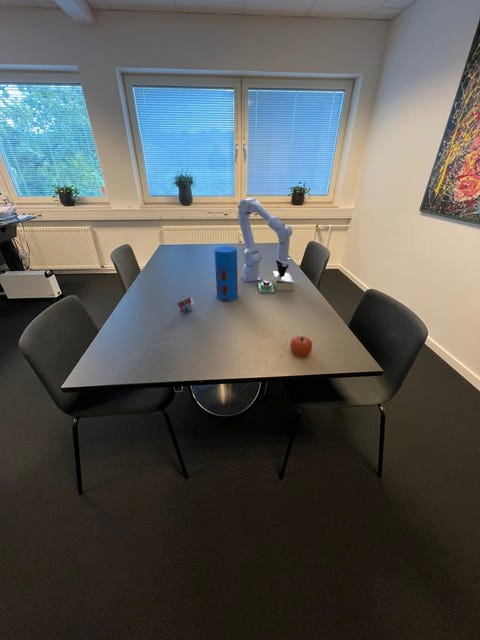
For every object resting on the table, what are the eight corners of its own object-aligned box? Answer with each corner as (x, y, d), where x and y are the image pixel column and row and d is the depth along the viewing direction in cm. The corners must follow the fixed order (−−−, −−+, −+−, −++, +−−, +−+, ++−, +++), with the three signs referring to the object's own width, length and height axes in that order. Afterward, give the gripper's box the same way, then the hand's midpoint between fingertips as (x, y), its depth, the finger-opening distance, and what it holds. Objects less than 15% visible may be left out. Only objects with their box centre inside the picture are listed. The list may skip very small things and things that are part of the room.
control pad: (260, 293, 138) (260, 288, 137) (257, 285, 148) (258, 280, 146) (274, 292, 139) (275, 287, 137) (271, 284, 148) (272, 279, 147)
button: (263, 285, 141) (263, 282, 140) (263, 283, 143) (263, 280, 142) (269, 285, 141) (269, 282, 140) (268, 283, 143) (268, 280, 142)
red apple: (313, 359, 92) (316, 342, 88) (291, 359, 92) (293, 343, 88) (308, 346, 98) (310, 330, 95) (287, 346, 98) (289, 330, 94)
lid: (276, 280, 138) (278, 274, 136) (272, 272, 150) (274, 265, 148) (293, 283, 139) (295, 276, 138) (288, 274, 151) (290, 268, 149)
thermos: (235, 302, 130) (234, 253, 117) (214, 300, 132) (211, 251, 119) (239, 292, 139) (239, 246, 126) (220, 291, 141) (217, 245, 128)
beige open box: (276, 290, 141) (276, 283, 139) (272, 281, 153) (273, 274, 150) (293, 290, 142) (293, 283, 140) (288, 280, 153) (288, 274, 151)
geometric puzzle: (175, 310, 118) (184, 297, 115) (174, 304, 123) (182, 290, 121) (188, 317, 121) (197, 303, 119) (187, 310, 127) (195, 297, 125)
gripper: (293, 254, 130) (290, 279, 138) (287, 246, 143) (285, 269, 150) (279, 254, 130) (277, 279, 137) (275, 246, 143) (273, 270, 150)
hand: (281, 274), depth 144 cm, fingers closed on lid, 5 cm apart
